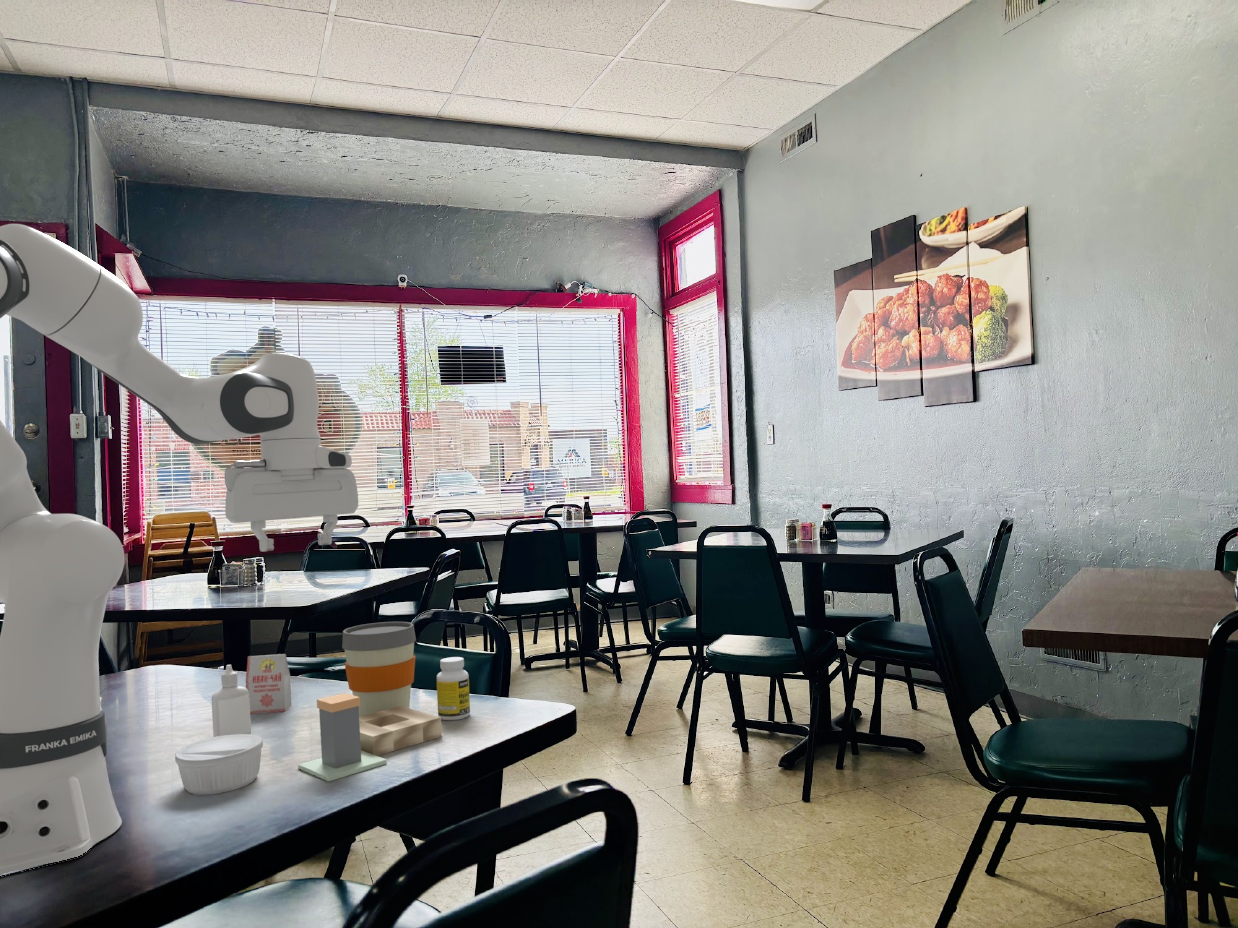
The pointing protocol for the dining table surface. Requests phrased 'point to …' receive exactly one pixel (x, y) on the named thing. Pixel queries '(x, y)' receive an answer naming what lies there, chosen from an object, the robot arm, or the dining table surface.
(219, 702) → the eye dropper bottle
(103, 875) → the dining table surface
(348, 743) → the plug
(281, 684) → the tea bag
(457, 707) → the supplement bottle
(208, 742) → the ramekin
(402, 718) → the socket block
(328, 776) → the coaster
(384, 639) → the reusable coffee cup
